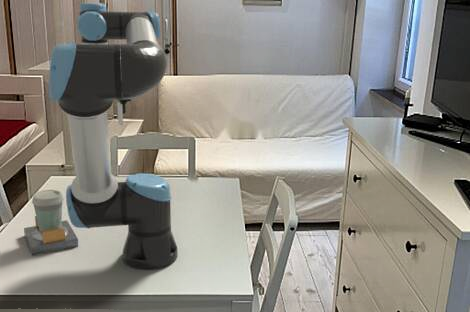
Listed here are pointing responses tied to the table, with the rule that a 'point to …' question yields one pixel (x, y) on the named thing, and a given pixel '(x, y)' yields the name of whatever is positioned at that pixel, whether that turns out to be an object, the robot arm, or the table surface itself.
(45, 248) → the block
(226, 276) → the table surface
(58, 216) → the coffee cup
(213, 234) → the table surface
